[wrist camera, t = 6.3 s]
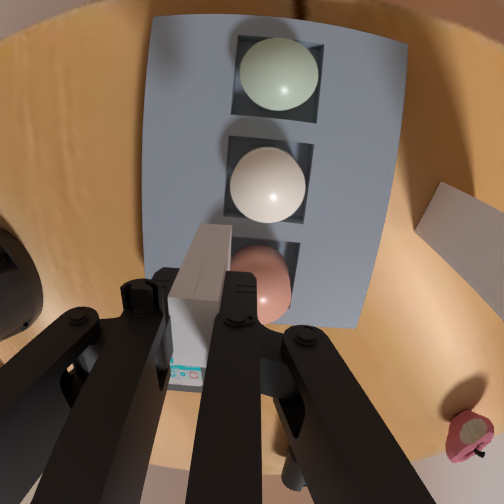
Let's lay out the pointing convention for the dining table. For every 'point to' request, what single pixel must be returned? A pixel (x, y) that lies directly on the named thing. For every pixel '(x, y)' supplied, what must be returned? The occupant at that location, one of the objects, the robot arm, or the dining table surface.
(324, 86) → the console
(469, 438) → the apple
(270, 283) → the button terracotta
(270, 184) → the button cream
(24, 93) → the dining table surface
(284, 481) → the end cap
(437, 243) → the milk
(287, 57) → the button sage
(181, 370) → the smartphone
